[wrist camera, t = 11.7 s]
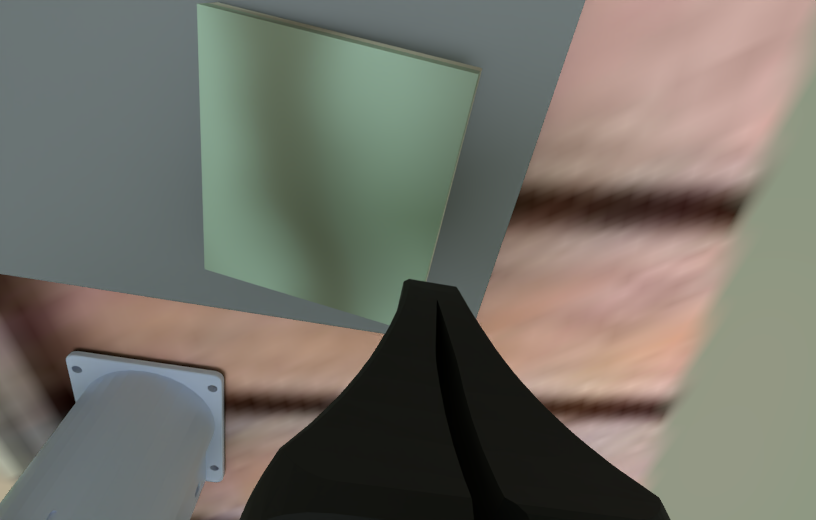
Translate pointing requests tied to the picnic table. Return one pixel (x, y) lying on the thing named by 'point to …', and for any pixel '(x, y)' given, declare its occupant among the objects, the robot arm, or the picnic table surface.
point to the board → (181, 138)
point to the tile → (324, 157)
